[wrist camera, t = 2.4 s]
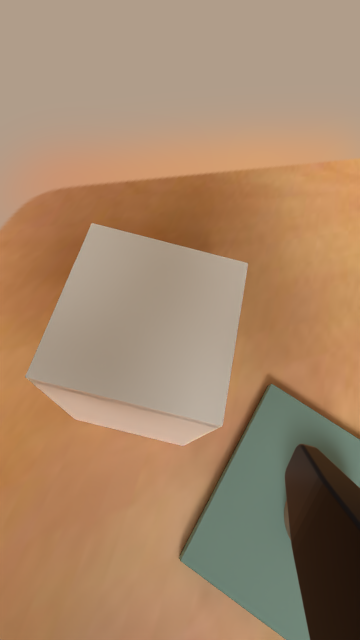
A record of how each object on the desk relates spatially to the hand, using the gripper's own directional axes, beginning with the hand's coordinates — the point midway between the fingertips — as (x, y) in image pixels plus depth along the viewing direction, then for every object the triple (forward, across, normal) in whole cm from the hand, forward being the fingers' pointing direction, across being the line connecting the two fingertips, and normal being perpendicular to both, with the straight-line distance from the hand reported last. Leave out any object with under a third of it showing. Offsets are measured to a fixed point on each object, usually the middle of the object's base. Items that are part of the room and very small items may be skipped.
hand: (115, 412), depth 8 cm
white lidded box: (+10, 0, +5) cm, 11 cm away
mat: (+6, -10, +9) cm, 15 cm away
